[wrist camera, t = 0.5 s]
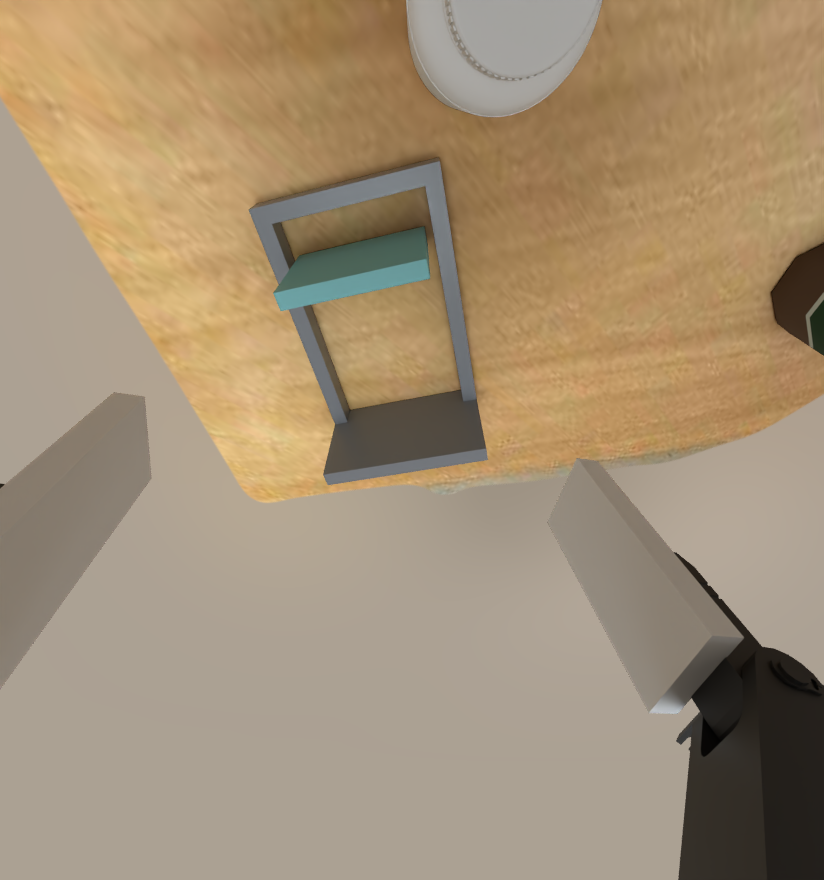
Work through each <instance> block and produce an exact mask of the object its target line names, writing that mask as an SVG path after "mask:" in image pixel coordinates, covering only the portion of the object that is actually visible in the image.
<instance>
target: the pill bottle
mask: <svg viewBox="0 0 824 880" xmlns="http://www.w3.org/2000/svg"><path fill="white" fill-rule="evenodd" d="M601 4H602V0H406V7H407V25H408V39H409V46H410V51H411V55H412V59H413V62H414V65H415V68H416V70H417V72H418V74H419V76H420V78H421V80H422V81H423V83H424V85H425V86H426V87H427V89H428V90H429V91H430V92H431V93H432V94H433V95H434V96H435V97H436V98H437V99H438V100H440V101H441V102H442V103H444V104H446V105H447V106H449V107H452V108H454V109H457V110H460V111H464V112H467V113H470V114H473V115H477V116H483V117H503V116H509V115H513V114H516V113H519V112H522V111H524V110H527V109H529V108H531V107H533V106H534V105H536V104H538V103H539V102H541V101H542V100H543V99H545V98H546V97H547V96H549V95H550V94H551V93H552V92H553V91H554V90H555V89H556V88H557V87H558V86H559V85H560V84H561V83H562V82H563V81H564V80H565V79H566V78H567V76H568V75H569V74H570V72H571V71H572V70H573V68H574V67H575V65H576V64H577V62H578V61H579V59H580V57H581V56H582V54H583V52H584V50H585V48H586V46H587V44H588V42H589V40H590V38H591V35H592V33H593V30H594V28H595V25H596V22H597V19H598V16H599V12H600V8H601Z"/></svg>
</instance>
